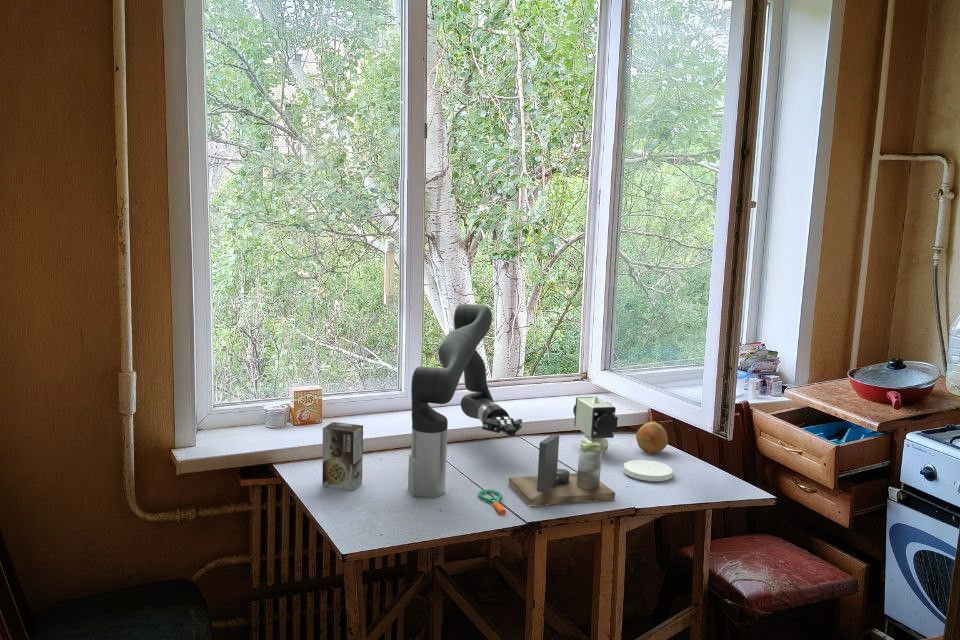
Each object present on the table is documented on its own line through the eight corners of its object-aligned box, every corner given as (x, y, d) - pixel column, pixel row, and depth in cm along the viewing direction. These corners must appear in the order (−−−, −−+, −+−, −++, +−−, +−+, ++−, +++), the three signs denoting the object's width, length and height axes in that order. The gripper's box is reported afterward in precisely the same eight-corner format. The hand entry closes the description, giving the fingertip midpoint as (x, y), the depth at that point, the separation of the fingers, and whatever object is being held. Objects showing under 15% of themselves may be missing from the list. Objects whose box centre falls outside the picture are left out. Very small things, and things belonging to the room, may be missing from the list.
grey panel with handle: (548, 497, 198) (552, 444, 196) (530, 493, 200) (533, 441, 198) (571, 479, 213) (575, 429, 211) (554, 475, 215) (557, 426, 213)
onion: (632, 447, 252) (635, 417, 251) (663, 449, 252) (666, 419, 251) (637, 456, 243) (639, 425, 241) (669, 458, 242) (672, 427, 241)
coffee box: (363, 483, 208) (364, 425, 206) (352, 491, 202) (354, 431, 200) (332, 478, 211) (333, 421, 209) (320, 486, 205) (321, 427, 202)
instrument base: (529, 506, 198) (532, 454, 196) (508, 484, 213) (510, 436, 211) (614, 499, 205) (618, 450, 203) (588, 479, 220) (591, 432, 218)
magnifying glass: (475, 494, 205) (475, 488, 205) (497, 493, 207) (497, 487, 207) (490, 517, 191) (490, 510, 191) (514, 515, 192) (514, 509, 192)
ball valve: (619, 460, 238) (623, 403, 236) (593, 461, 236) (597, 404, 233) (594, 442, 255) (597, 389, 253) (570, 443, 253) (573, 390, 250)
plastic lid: (645, 465, 236) (646, 457, 235) (682, 479, 225) (683, 470, 224) (613, 472, 227) (613, 464, 227) (649, 487, 216) (650, 479, 216)
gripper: (473, 405, 235) (491, 420, 219) (514, 403, 239) (534, 419, 223) (471, 429, 236) (489, 446, 220) (512, 427, 240) (533, 444, 224)
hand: (512, 432), depth 222 cm, fingers closed
